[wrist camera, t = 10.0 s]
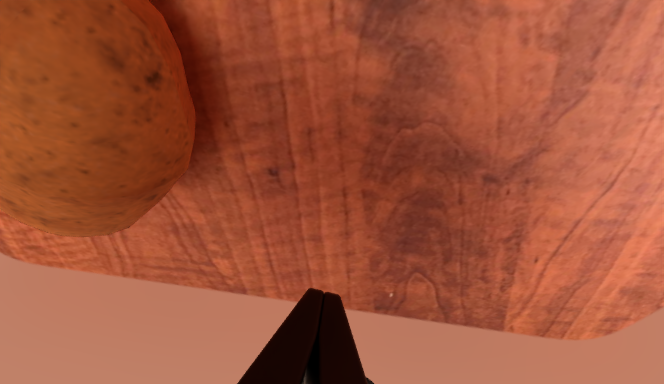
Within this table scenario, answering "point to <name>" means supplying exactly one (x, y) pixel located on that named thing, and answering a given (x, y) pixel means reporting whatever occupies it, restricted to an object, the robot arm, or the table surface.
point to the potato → (89, 113)
